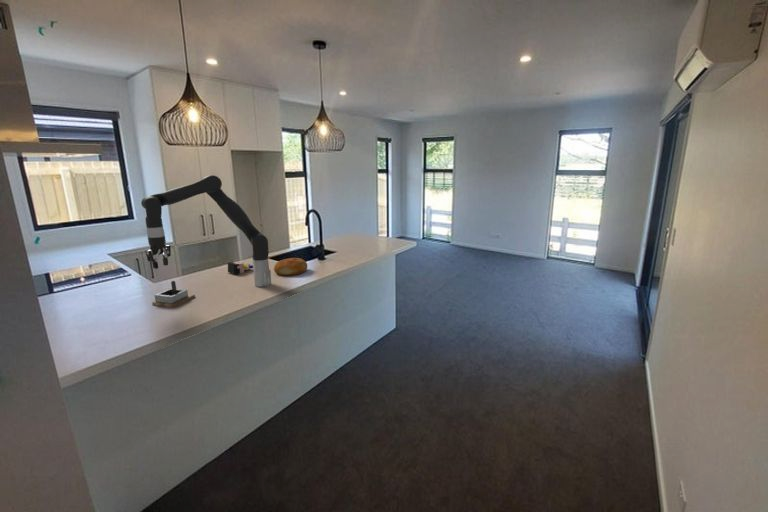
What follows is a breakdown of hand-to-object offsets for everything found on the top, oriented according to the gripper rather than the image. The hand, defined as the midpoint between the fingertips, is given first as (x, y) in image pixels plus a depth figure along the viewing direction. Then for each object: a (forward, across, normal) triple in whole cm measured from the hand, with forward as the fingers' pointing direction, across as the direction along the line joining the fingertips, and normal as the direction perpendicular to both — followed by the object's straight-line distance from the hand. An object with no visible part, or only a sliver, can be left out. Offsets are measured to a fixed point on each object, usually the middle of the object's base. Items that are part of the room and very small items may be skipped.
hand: (161, 266), depth 181 cm
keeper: (+22, +6, 0) cm, 22 cm away
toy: (+22, +63, -3) cm, 67 cm away
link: (+20, +4, 0) cm, 20 cm away
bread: (+22, +71, -38) cm, 84 cm away
